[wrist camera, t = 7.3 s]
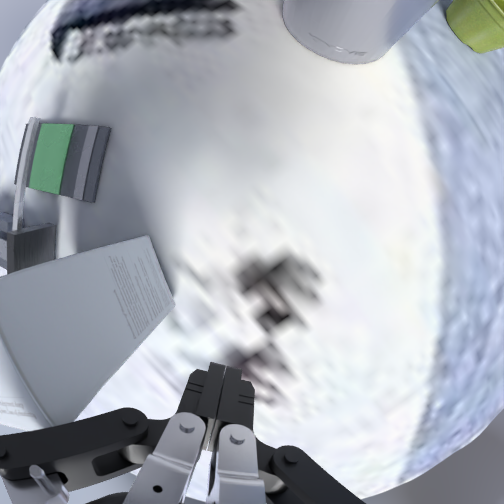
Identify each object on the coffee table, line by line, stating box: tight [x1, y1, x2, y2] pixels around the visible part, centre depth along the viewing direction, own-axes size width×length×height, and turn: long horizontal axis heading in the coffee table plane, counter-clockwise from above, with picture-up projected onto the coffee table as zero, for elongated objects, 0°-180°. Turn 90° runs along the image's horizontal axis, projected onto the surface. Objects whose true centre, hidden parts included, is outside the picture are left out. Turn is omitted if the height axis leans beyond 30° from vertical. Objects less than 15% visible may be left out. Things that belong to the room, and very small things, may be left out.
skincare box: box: [0, 235, 175, 431], centre depth 13 cm, size 8×6×15 cm
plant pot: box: [446, 0, 504, 53], centre depth 10 cm, size 9×9×9 cm
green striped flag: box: [0, 123, 111, 270], centre depth 17 cm, size 14×22×4 cm
